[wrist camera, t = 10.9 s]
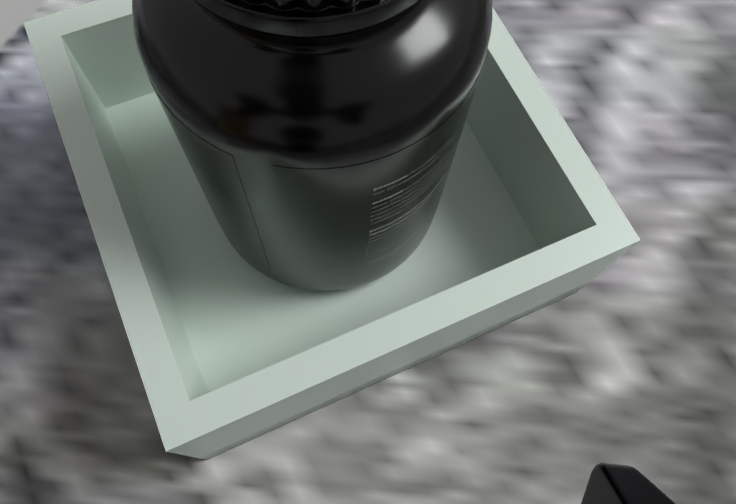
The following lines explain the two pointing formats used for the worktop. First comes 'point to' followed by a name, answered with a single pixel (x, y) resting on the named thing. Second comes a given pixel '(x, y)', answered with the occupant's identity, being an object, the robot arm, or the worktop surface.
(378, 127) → the supplement bottle
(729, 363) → the worktop surface
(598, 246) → the box
